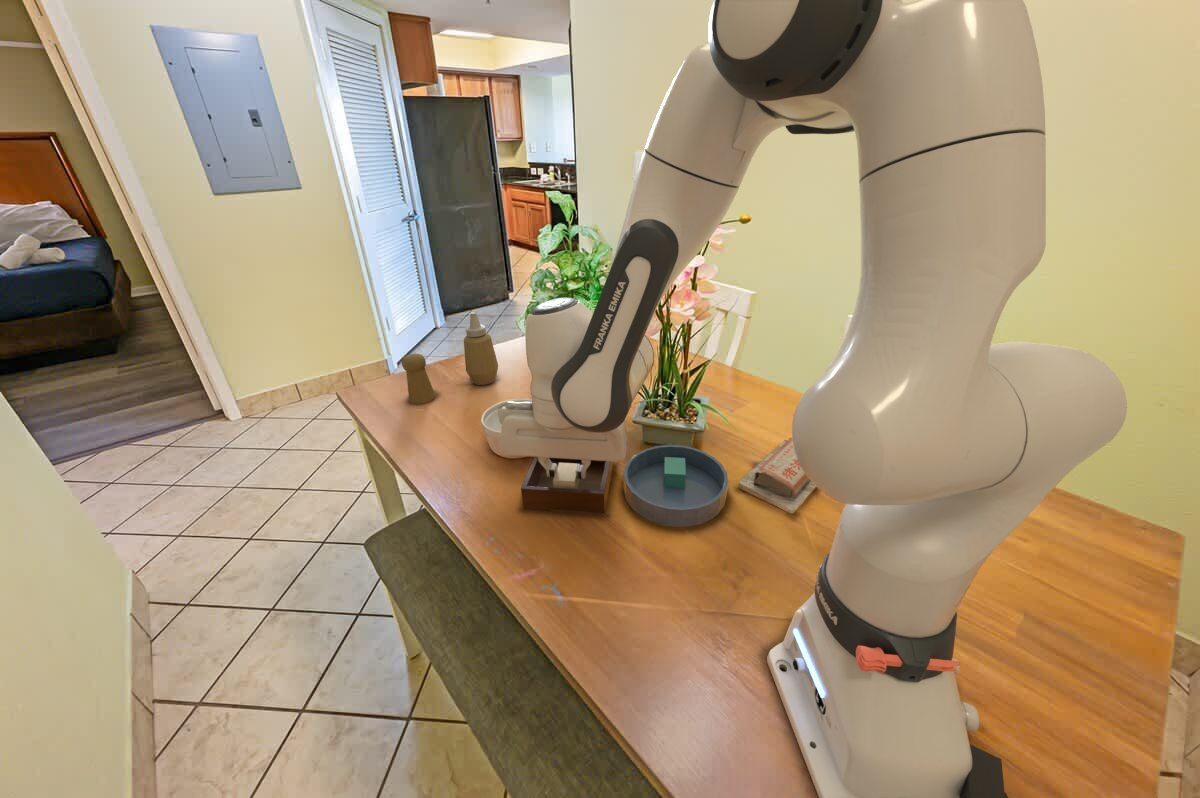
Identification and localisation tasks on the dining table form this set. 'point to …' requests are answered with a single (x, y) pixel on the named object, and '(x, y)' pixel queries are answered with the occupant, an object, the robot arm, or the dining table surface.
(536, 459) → the tray
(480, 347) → the squeeze bottle
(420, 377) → the pepper mill
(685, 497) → the bowl
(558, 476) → the beige block
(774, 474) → the packaged product
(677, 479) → the teal rectangular block
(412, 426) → the dining table surface
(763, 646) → the dining table surface
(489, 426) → the ramekin
